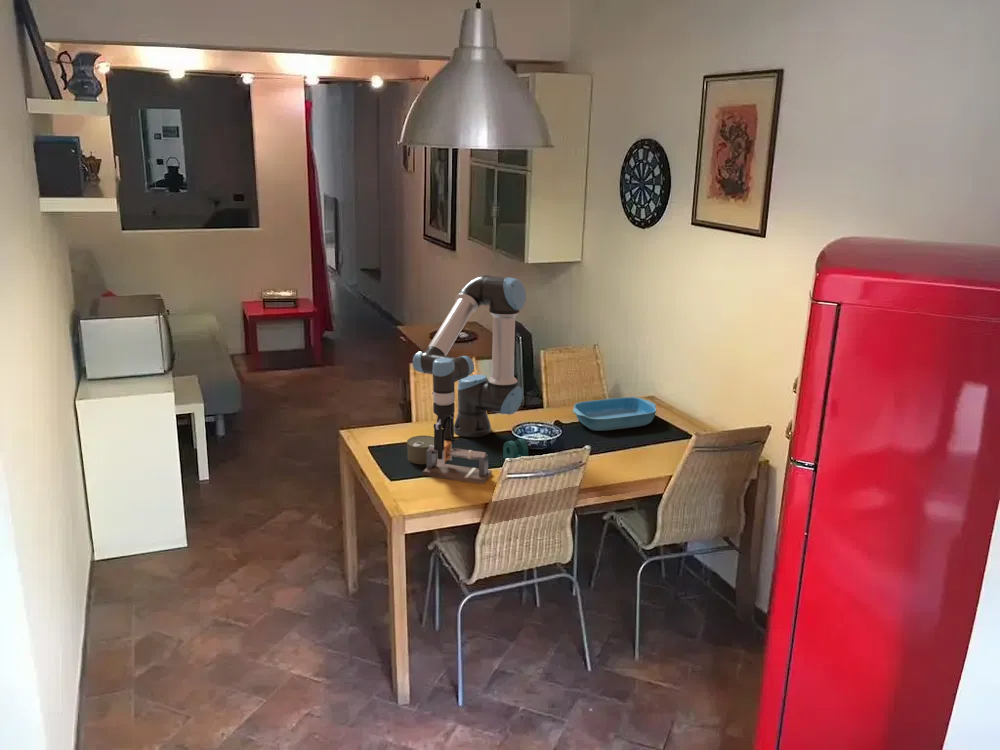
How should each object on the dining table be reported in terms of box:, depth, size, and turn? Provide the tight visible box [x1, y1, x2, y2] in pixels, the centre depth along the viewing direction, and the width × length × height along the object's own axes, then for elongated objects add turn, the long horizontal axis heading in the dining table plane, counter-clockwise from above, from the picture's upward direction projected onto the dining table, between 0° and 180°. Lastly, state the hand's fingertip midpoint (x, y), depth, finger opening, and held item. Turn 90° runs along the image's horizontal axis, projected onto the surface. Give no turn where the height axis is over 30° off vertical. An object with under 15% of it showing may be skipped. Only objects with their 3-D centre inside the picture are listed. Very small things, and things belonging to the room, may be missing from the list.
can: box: [406, 435, 437, 465], centre depth 311 cm, size 12×12×7 cm
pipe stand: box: [422, 445, 493, 485], centre depth 296 cm, size 9×23×10 cm, turn 72°
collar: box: [444, 440, 452, 463], centre depth 296 cm, size 6×3×6 cm, turn 162°
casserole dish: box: [572, 396, 657, 432], centre depth 350 cm, size 37×22×7 cm, turn 109°
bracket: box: [502, 438, 529, 460], centre depth 306 cm, size 18×7×8 cm, turn 33°
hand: (444, 462), depth 298 cm, fingers closed on collar, 6 cm apart
